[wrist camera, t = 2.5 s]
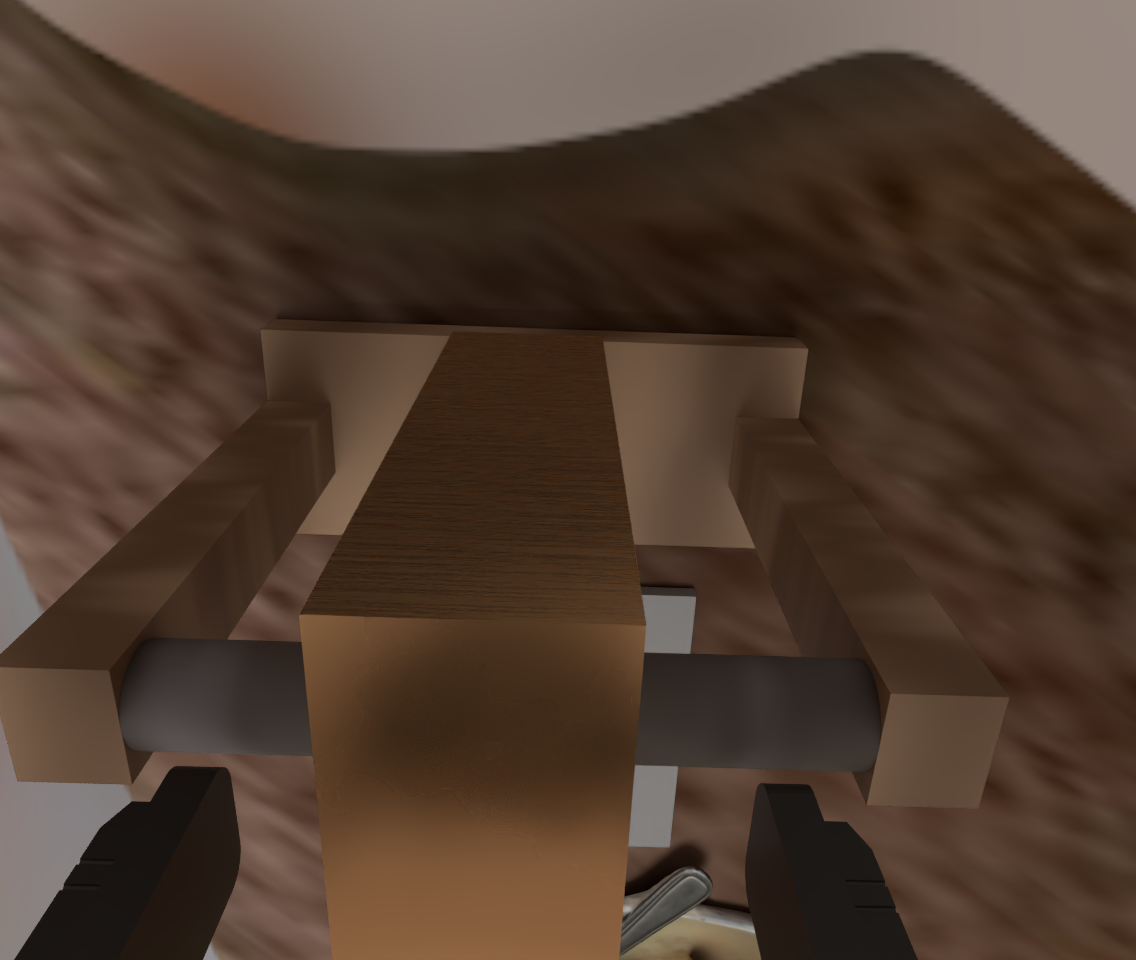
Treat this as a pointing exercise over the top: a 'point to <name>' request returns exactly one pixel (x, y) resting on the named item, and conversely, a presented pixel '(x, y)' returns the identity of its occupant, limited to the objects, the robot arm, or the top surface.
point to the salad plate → (684, 923)
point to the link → (482, 669)
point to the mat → (657, 784)
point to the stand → (658, 517)
